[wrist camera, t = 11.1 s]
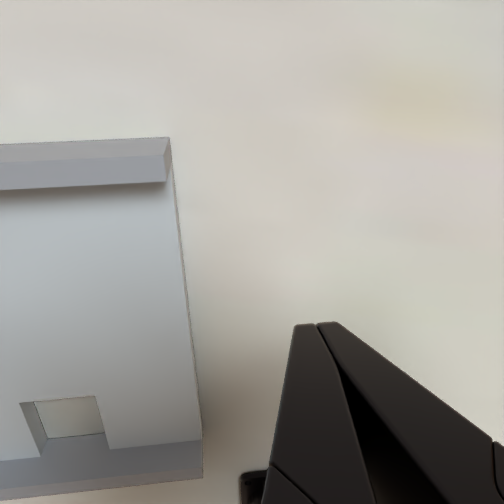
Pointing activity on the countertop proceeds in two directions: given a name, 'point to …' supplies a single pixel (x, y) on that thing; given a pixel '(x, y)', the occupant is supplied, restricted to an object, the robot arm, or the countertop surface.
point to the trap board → (94, 317)
